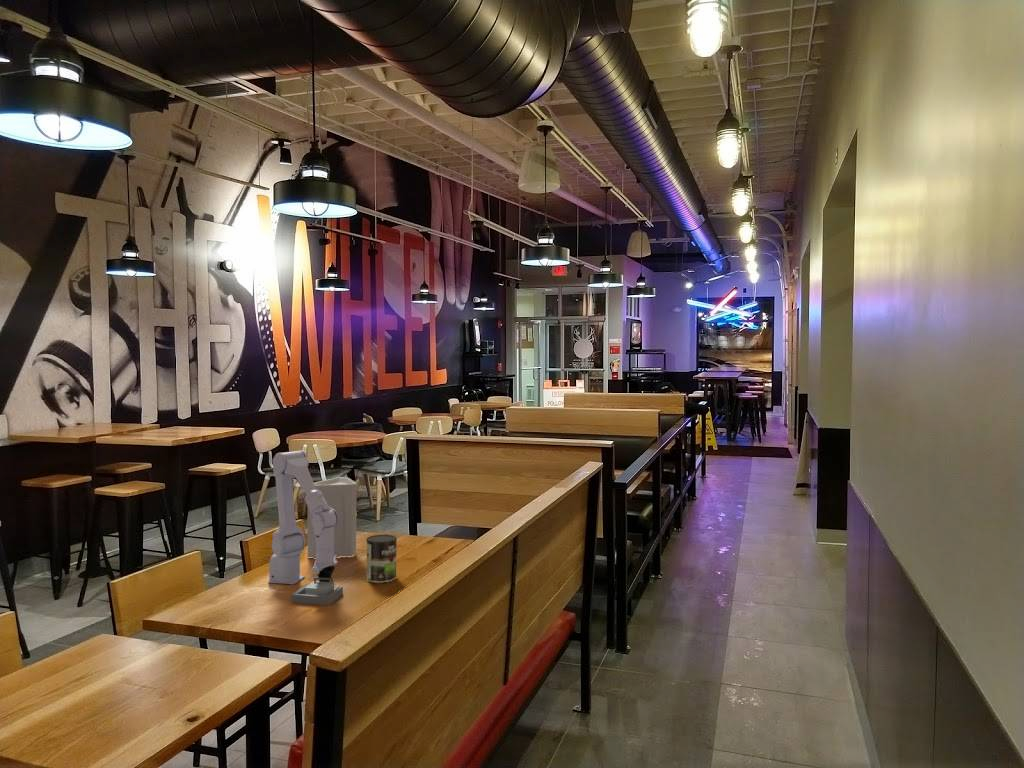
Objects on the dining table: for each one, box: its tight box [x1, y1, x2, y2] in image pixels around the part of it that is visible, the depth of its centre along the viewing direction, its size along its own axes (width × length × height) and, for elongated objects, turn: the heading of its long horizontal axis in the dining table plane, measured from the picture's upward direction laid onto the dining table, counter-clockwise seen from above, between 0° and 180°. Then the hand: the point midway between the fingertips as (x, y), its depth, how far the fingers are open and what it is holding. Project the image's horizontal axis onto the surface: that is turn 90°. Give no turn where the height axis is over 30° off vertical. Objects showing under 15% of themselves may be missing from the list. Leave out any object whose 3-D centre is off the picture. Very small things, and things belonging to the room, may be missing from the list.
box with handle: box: [305, 576, 335, 596], centre depth 218 cm, size 7×6×5 cm
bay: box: [291, 583, 344, 606], centre depth 217 cm, size 12×10×2 cm
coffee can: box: [365, 534, 398, 584], centre depth 237 cm, size 10×10×14 cm
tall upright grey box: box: [307, 476, 357, 558], centre depth 266 cm, size 19×15×28 cm
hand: (324, 589), depth 222 cm, fingers closed
